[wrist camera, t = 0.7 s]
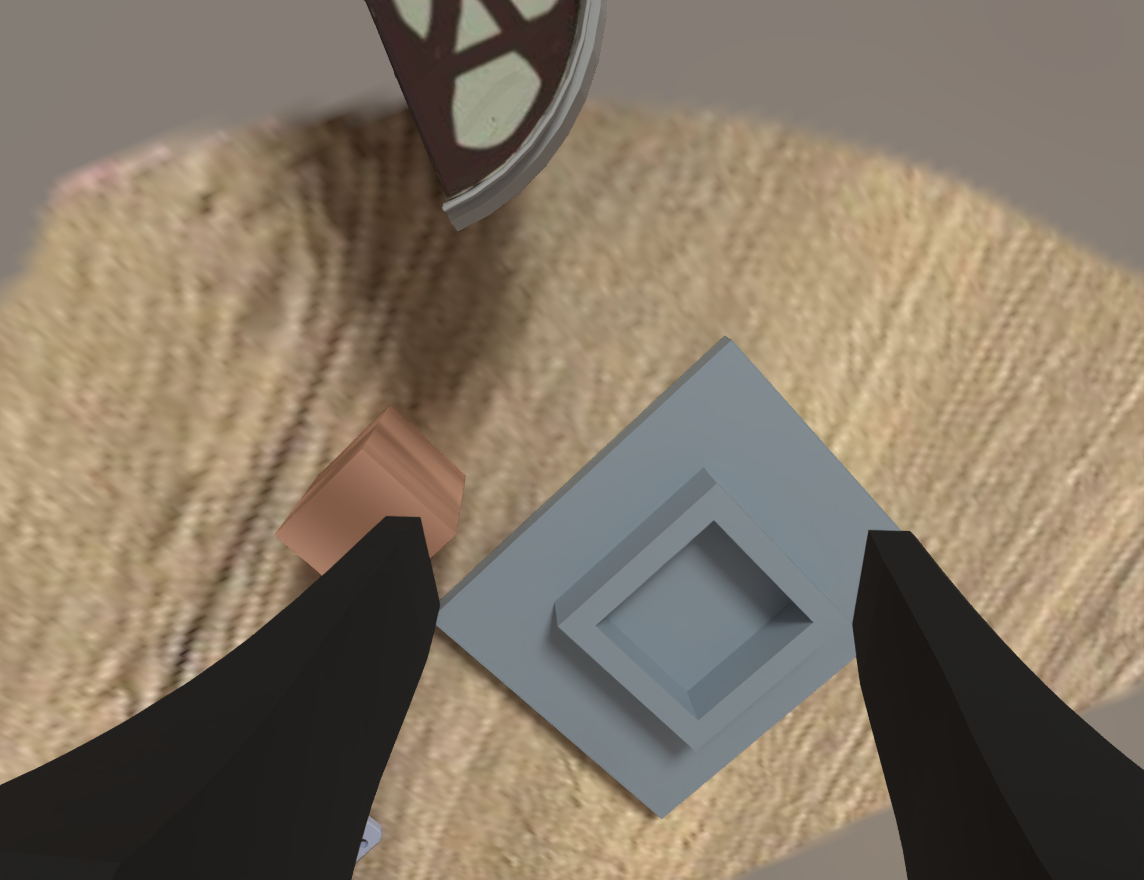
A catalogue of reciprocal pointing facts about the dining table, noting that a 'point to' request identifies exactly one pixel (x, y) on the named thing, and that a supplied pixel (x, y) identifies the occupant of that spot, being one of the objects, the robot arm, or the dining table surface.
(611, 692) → the base board
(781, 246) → the dining table surface
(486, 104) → the food container
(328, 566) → the terracotta block
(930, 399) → the dining table surface
